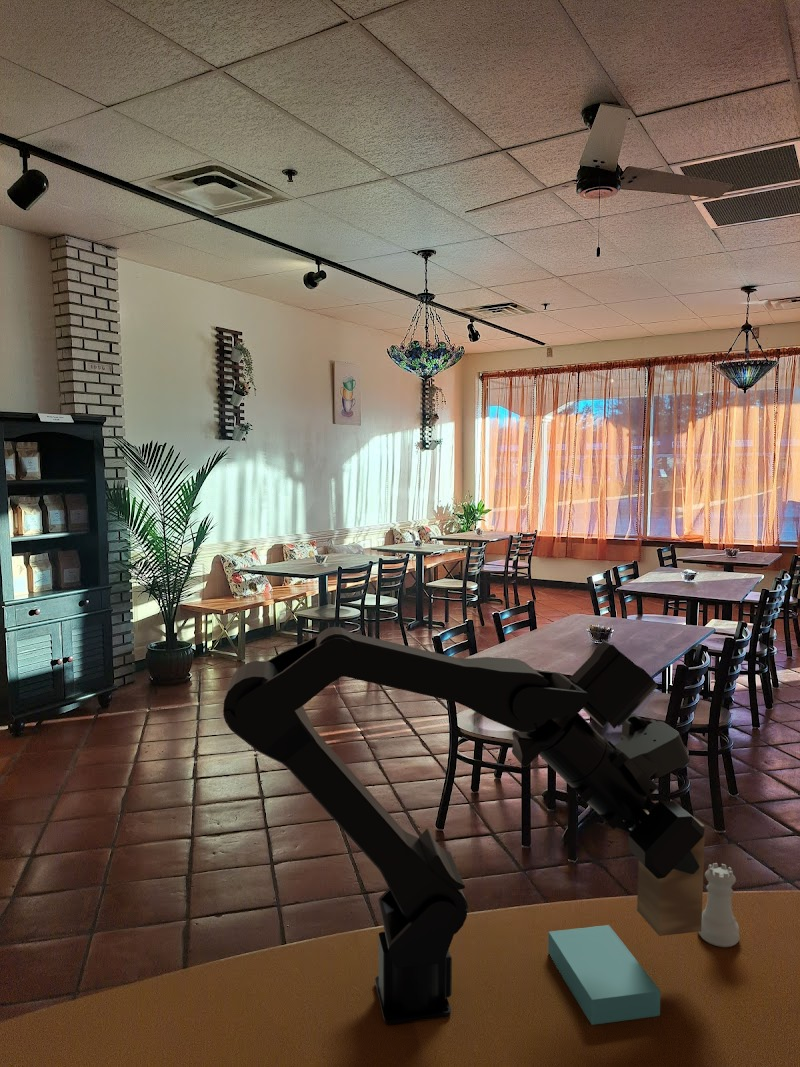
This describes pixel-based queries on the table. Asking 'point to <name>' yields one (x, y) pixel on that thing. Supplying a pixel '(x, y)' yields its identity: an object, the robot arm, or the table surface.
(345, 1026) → the table surface
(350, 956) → the table surface
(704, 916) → the rook chess piece
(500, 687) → the robot arm
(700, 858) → the tan wooden block
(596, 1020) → the base block
